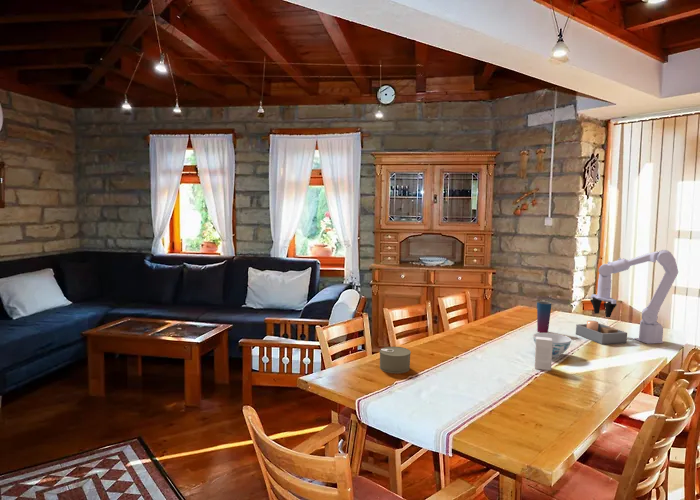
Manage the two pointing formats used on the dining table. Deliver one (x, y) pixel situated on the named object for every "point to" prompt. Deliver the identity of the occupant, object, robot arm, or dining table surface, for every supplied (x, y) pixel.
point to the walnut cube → (608, 330)
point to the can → (395, 359)
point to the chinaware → (556, 342)
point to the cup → (543, 316)
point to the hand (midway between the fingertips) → (602, 315)
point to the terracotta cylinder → (592, 325)
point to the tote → (601, 335)
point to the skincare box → (543, 353)
